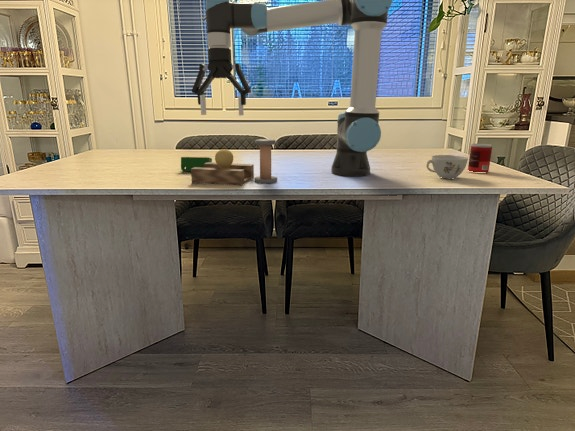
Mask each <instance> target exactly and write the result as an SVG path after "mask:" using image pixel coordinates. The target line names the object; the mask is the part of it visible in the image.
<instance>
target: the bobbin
mask: <svg viewBox="0 0 575 431" xmlns="http://www.w3.org/2000/svg"><path fill="white" fill-rule="evenodd" d="M276 141H277V140H276V139H268V138H267V139H266V138H265V139H264V138H261V139H255V140H254V142H255V145H256V146H257V145H258V146H259V176H254V178H253V180H254V183H255V184H259V185H260V184H261V185H263V184H264V185H267V184H268V185H269V184H270V185H271V184H275V183H278V177H276V176H272V146H273V145H276Z"/></svg>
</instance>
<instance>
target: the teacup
mask: <svg viewBox="0 0 575 431" xmlns="http://www.w3.org/2000/svg"><path fill="white" fill-rule="evenodd" d="M468 162H469V157H467V156H460V155H452V154H451V155H450V154H439V155H432V156H431V159H429V160H428V161H427V162H426V169H427V170H428V171H429V172H431V173H435V174H437V176H438V178H440V177H442V178H441V179H443V178H456V179H457V178H458V177H459V176H460V175H461V174H462V173H463V171H464V170H465V168H467V163H468ZM430 164H431V165H432V168H433V169H432V168H430V167H429V166H430Z"/></svg>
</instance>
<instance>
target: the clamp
mask: <svg viewBox="0 0 575 431" xmlns="http://www.w3.org/2000/svg"><path fill="white" fill-rule="evenodd" d="M207 162H211V163H213V159H212V158H211V157H202V156H201V157H200V156H199V157H198V156H197V157H196V156H195V157H194V156H180V170H181V171H183V172H185V173H186V172H189V173H191V169H192V168H194V167H202V168H204V164H205V163H207Z"/></svg>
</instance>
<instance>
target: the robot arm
mask: <svg viewBox="0 0 575 431" xmlns="http://www.w3.org/2000/svg"><path fill="white" fill-rule="evenodd" d="M392 3H393V0H318V1H313V2H303V3H298V4H288V5H283V6H276V7H275V6H274V7H267V4H266V3H263V2H256V1H254V2H231V1H230V0H205V20H206V21H205V22H206V38H207V40H206V42H207V43H206V44H207V47H208V49H207V57H208V58H207V60H208V63H207V64H205V63H200V64H199V68H198V73H197V76H196V78H195V82H194V84H193V87H192V89H191V92H192V93H193V94H195V95H197V104H198V105H200V115H201V116H205V115H207V104H206V103H207V102H206V100H207V99H206V95H204V93H205V92H206V90H207V89H208V88H209V86H210V85H211V83H212V82H213V80H215V79H227V80H229V82H231V84H232V86H233V87H234V88H235V90H237V92H238V93H239V95H237V99H238V100H237V102H238V116H240V117H241V116H244V106H246V105H247V95H248V94H250V93H252V90H251V87H250V86H249V83H248V81H247V79H246V77H245V75H244V72H243V71H242V65H241V64H240V63H235V64H233V63H232V50H231V47H232V44H231V42H232V41H231V29H239V30H240V29H241V31H242V32H243V33H244V34H245V35H247V36H251V37H254V36H257V35H259V34H265V33H270V32H277V31H278V32H279V31H285V30H293V29H300V28H301V29H303V28H308V27H315V26H316V27H317V26H324V25H331V24H337V25H338V26H350V27H351V28H352V29H353V30H354V40H353V41H354V43H353V56H352V58H353V59H352V72H351V87H350V88H351V89H350V101H349V102H350V103H349V106H348V108H347V109H346V110H345V112H340V113H339V114H338V115H337V116H338V117H337V130H336V132H337V134H336V139H337V140H336V154H335V156H334V158H333V162H332V165H331V168H330V169H331V171H330V172H331V173H332V175H333V174H334V175H337V176H343V177H363V176H368V175H370V174H371V165H370V162H369V158H368V153H367V152H369V151H372V150H373V149H374V148H376V147H377V145H379V142H380V141H381V137H382V130H381V127H380V125H379V120H380V119H379V118H380V111H379V110H378V109H377V107H376V105H377V104H376V103H377V102H376V101H377V92H378V90H377V88H378V80H379V79H378V78H379V66H380V55H381V54H380V52H381V40H382V31H383V30H384V29H385V28H386V27H387V25H388V13H389V10H390V8H391V6H392ZM233 70H234V71H235V72H236V74H237V77H238V79H239V81H240V83H239V82H238V81H237V79H236V78H235V77H234V75H233V74H232V71H233ZM207 71H209V73H208V74H207V77H206V78H204V77H205V74H206V72H207ZM204 79H205V80H204ZM203 80H204V81H203ZM202 82H203V83H202ZM241 85H242V86H241Z"/></svg>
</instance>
